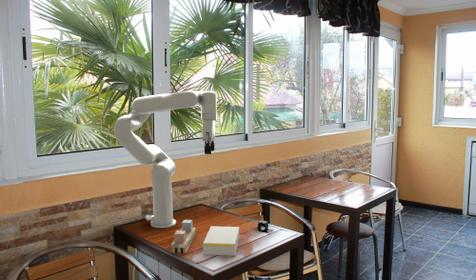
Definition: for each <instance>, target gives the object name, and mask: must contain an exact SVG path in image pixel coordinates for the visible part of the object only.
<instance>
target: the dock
mask: <svg viewBox="0 0 476 280" xmlns="http://www.w3.org/2000/svg"><path fill="white" fill-rule="evenodd" d="M204 238H205V239H204V240H203V242H202V246H203V247H202V250H203V251H202V252H203V255H204V256H205V255H207V256H229V257H231V256H234V257H235V256H236V254H237V249H238V245H239V241H240V226H215V225H213V226H212V225H211V226H210V228H209V230H208V232H207V234H206V237H204Z"/></svg>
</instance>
